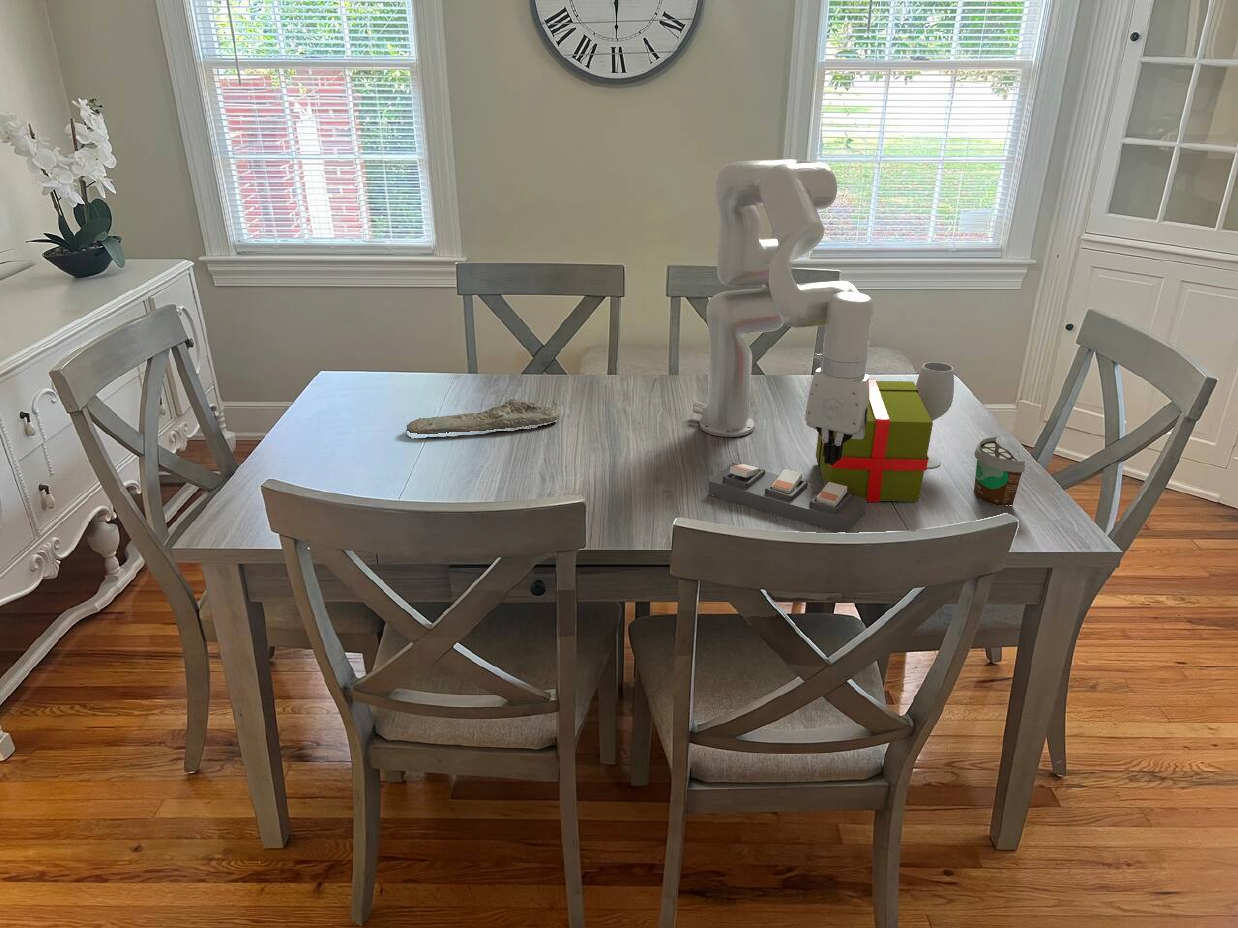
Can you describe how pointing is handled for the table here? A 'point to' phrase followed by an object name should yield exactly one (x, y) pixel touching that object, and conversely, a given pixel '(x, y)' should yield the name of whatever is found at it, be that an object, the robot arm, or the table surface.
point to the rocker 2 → (787, 481)
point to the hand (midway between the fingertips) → (831, 461)
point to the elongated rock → (487, 419)
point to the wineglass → (936, 393)
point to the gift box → (885, 447)
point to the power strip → (788, 500)
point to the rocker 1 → (744, 470)
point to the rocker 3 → (832, 494)
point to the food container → (996, 473)
